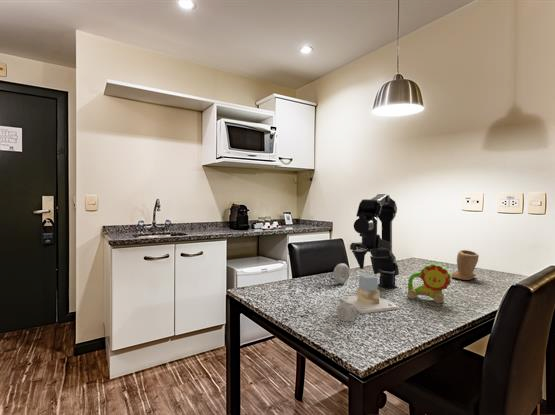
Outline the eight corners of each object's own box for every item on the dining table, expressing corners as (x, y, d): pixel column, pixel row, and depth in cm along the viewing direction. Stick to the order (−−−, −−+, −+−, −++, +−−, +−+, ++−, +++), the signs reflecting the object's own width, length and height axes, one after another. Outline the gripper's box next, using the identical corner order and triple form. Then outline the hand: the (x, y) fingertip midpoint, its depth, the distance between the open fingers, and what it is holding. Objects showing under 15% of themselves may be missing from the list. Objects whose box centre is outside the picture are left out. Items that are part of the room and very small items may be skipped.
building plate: (372, 296, 134) (372, 292, 134) (398, 309, 119) (398, 305, 119) (339, 299, 129) (339, 295, 129) (361, 313, 114) (361, 309, 114)
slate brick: (369, 286, 127) (369, 274, 127) (377, 290, 122) (377, 277, 122) (358, 287, 125) (359, 275, 125) (366, 291, 120) (366, 278, 120)
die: (356, 319, 108) (357, 304, 108) (349, 323, 105) (349, 308, 105) (343, 315, 112) (344, 301, 112) (336, 319, 108) (336, 304, 108)
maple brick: (370, 298, 127) (370, 286, 127) (379, 303, 122) (379, 290, 122) (357, 300, 125) (357, 287, 125) (365, 305, 120) (366, 291, 120)
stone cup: (473, 283, 158) (474, 253, 157) (448, 278, 167) (449, 250, 166) (482, 278, 168) (483, 250, 168) (458, 274, 177) (459, 247, 176)
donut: (345, 281, 157) (346, 261, 157) (351, 283, 154) (351, 262, 154) (331, 284, 151) (331, 263, 151) (336, 286, 149) (337, 265, 148)
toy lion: (406, 298, 132) (407, 262, 132) (408, 294, 137) (409, 260, 137) (449, 305, 124) (451, 266, 124) (450, 301, 129) (451, 264, 129)
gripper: (403, 233, 117) (401, 275, 117) (372, 228, 134) (371, 265, 135) (377, 234, 113) (376, 277, 114) (349, 229, 131) (348, 266, 131)
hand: (368, 271), depth 123 cm, fingers open, 9 cm apart
